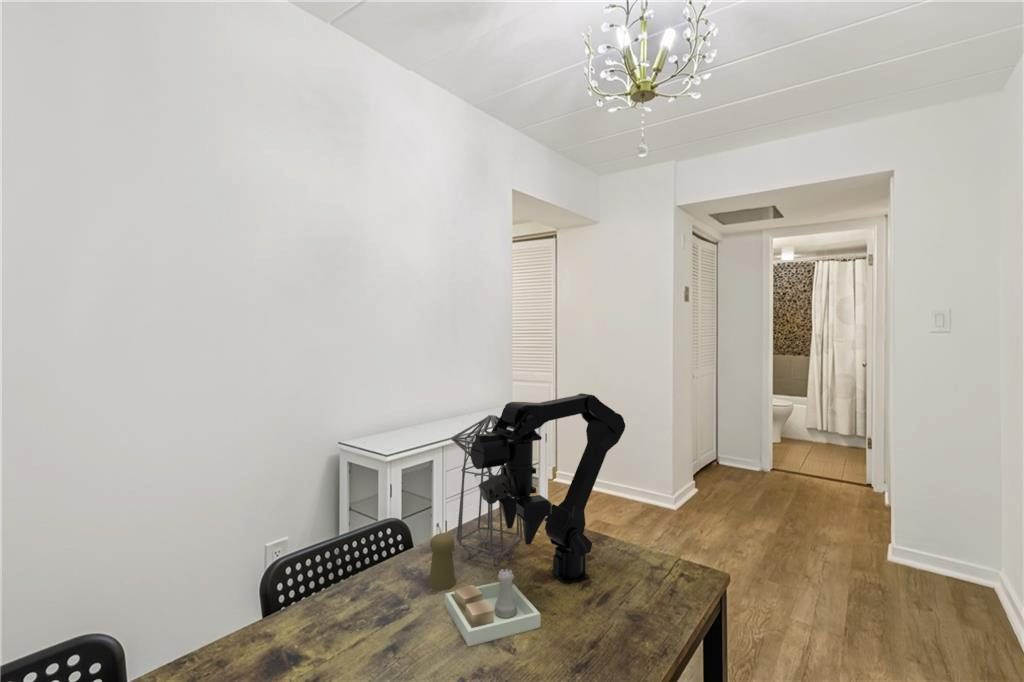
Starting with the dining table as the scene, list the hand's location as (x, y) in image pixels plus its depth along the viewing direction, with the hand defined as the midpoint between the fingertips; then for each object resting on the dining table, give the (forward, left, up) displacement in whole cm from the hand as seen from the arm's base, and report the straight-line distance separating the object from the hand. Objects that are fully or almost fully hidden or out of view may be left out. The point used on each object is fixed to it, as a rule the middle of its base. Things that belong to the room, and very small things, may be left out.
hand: (518, 535), depth 105 cm
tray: (+9, +7, -12) cm, 17 cm away
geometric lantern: (-1, -18, -12) cm, 22 cm away
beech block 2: (+12, +10, -11) cm, 20 cm away
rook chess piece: (+6, +7, -12) cm, 15 cm away
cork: (+14, -9, -12) cm, 21 cm away
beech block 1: (+12, +4, -11) cm, 17 cm away
